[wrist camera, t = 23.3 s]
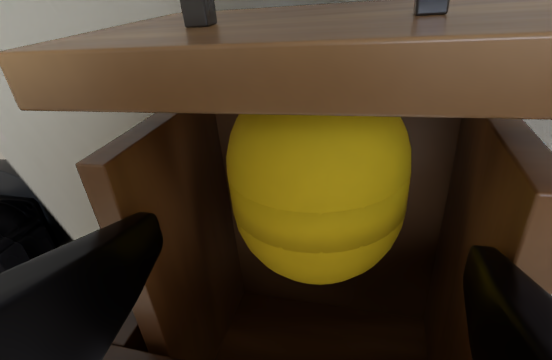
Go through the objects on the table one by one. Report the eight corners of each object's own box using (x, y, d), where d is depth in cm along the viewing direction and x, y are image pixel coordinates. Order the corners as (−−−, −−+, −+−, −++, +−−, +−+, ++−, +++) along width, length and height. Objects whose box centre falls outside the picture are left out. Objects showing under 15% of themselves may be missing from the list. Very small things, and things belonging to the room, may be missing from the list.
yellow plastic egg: (396, 222, 14) (401, 339, 9) (266, 211, 15) (218, 308, 11) (415, 48, 11) (436, 103, 6) (249, 53, 12) (173, 101, 8)
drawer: (145, -141, 11) (-154, -277, 5) (588, -227, 8) (1222, -832, 2) (227, 282, 20) (156, 423, 14) (453, 315, 17) (492, 513, 11)
